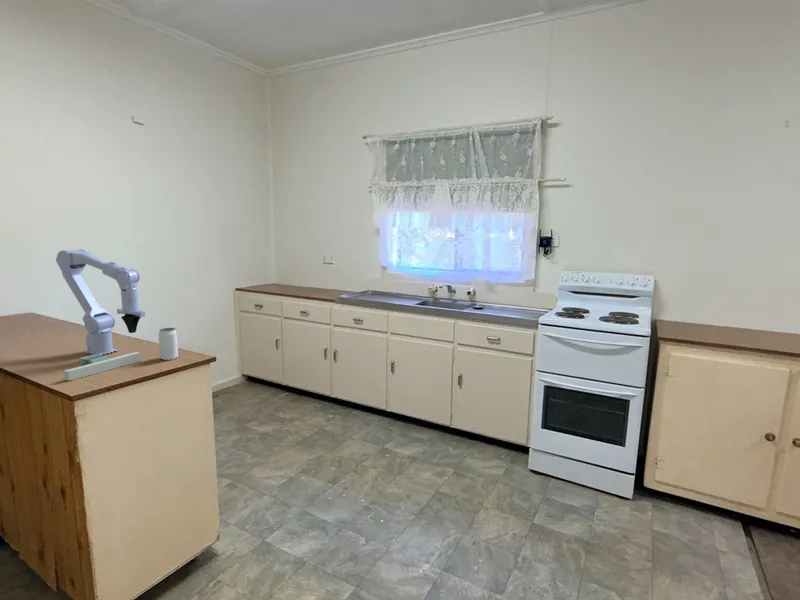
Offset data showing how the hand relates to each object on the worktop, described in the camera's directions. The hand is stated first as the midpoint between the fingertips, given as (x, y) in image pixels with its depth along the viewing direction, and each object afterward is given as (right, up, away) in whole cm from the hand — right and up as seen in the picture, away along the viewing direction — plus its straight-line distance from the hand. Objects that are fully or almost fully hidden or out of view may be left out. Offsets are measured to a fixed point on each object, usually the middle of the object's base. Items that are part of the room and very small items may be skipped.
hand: (132, 332), depth 183 cm
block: (-4, -13, -17) cm, 21 cm away
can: (+17, -11, -3) cm, 20 cm away
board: (+1, -13, -19) cm, 23 cm away
